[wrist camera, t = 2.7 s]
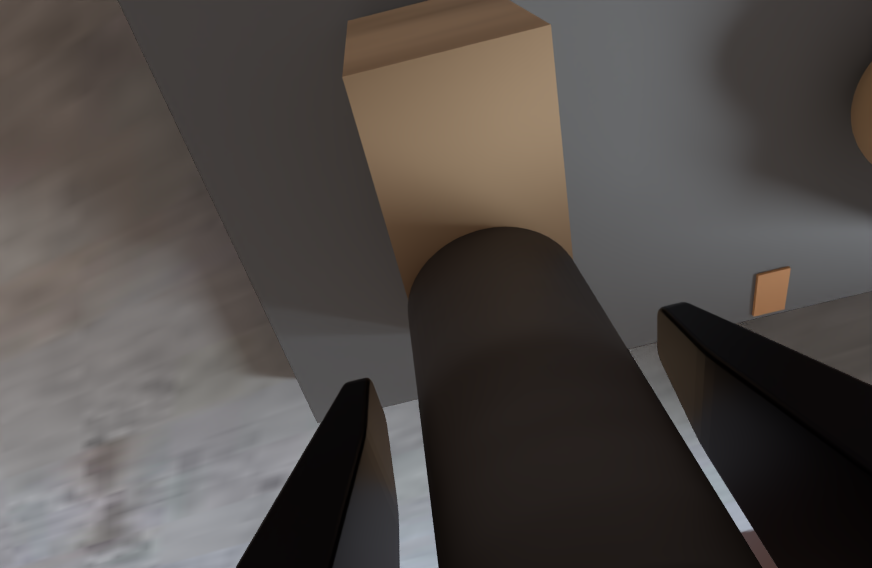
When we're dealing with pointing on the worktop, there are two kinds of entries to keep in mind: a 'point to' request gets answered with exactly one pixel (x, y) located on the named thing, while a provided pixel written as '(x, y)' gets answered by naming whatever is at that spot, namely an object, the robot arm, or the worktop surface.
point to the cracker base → (582, 150)
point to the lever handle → (514, 310)
